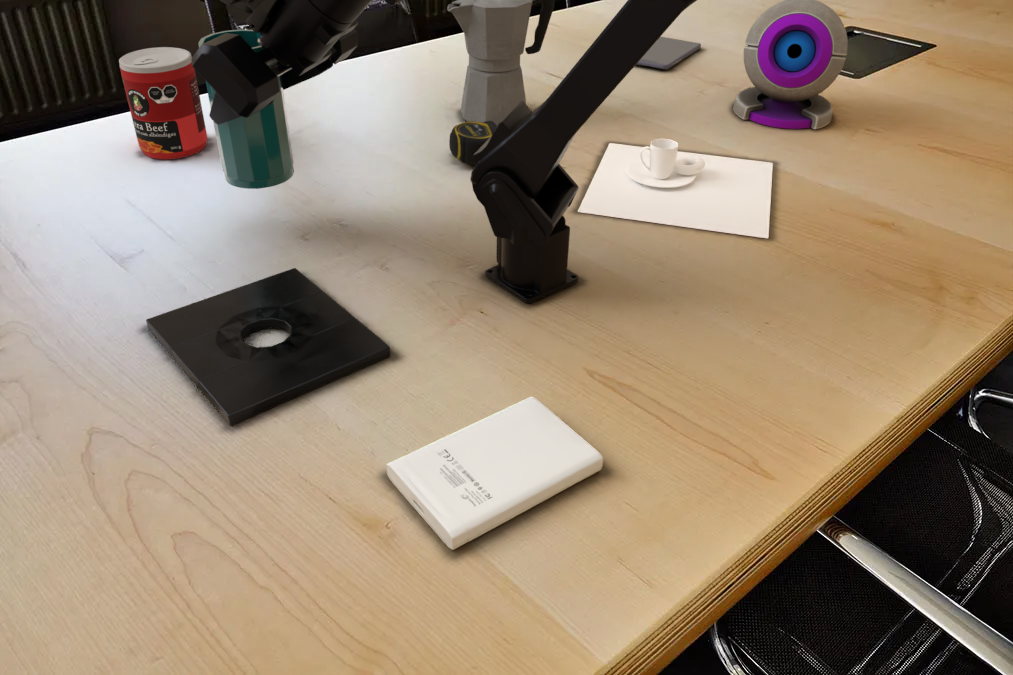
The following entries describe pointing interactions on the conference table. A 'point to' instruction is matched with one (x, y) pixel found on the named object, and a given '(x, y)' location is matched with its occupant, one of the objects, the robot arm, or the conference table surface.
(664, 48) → the smartphone
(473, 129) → the tape measure
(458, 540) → the hard drive
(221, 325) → the drain plate
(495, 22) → the coffeepot
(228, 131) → the tumbler
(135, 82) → the canned food
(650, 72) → the conference table surface
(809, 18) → the webcam
